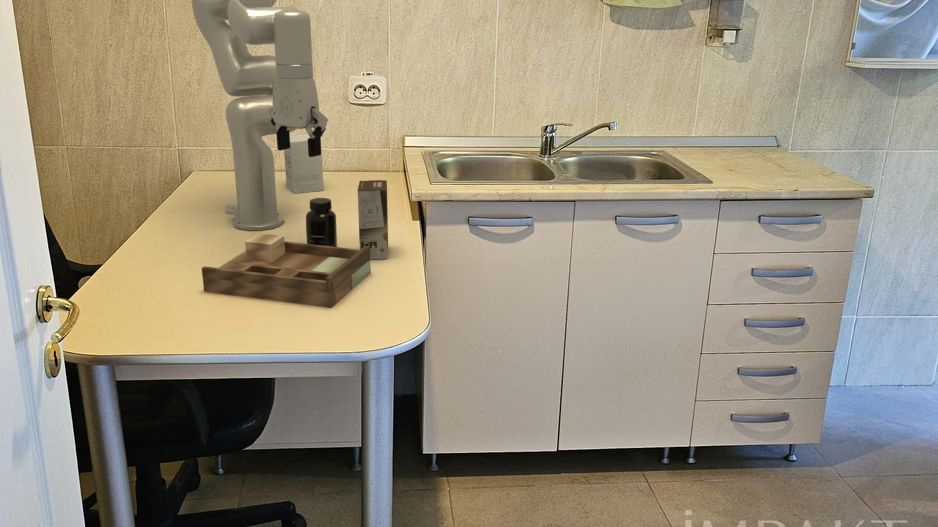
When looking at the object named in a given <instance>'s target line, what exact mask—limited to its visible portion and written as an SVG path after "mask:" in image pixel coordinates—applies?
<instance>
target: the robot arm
mask: <svg viewBox="0 0 938 527" xmlns="http://www.w3.org/2000/svg"><path fill="white" fill-rule="evenodd" d="M277 1H278V0H191V8H192V13H193V17H194V20H195V23H196V25H197V27H198V30H199V31H200V33H201V34H202V36H203V38H204V40H205V41H206V43H207V44H208V46H209V48H210V50H211V53H212V57H213V60H214V63H215V67H216V70H217V74H218V77H219V80H220V83H221V86H222V87H223V90H224V91H225V92H226V94H227V95H229V96H231V97H237V98H234V99H232V100H231V101H230V102H229V103H228V104H227V105H226V106H225V121H226V124H227V127H228V131H229V136H230V142H231V148H232V154H233V155H232V158H233V166H234V167H233V168H234V179H235V190H236V191H235V192H236V201H237V205H236V204H229V203H228V204H226V205H225V210H224V213H225V214H227V215H233V216H234V217H233V219H232V226H233V227H234V228H237V229H239V230H242V231H243V230H244V231H264V230H269V229H275V228H278V227H280V226H282V225H283V224H284V223H285V217H284V216H283V215H282V214H280V213H278V203H277V202H278V201H277V190H276V189H277V188H276V175H275V162H274V161H275V160H274V158H275V157H274V154H273V150H272V149H271V147H270V146H269V145H268V144H267V142H265V141H264V140H263V137H265V136H270V135H276V145H277V146H276V147H277V148H276V149H277V151H284V150H285V149H289V148H290V136H291V134H290V133H293V132H294V131H296V130H304V129H305V131H306V133H307V134H308V135H309V137H310V138H308V155H309V157H315V156H319V155H322V141H321V140H322V137H323V135H324V132H325V131H326V129H327V125H328V122H329V119H328V118H327V117H326V116H325V115H324V113H322V112H321V111H320V105H319V104H320V103H319V98H318V97H319V96H318V91H317V84H316V82H315V79H314V67H313V64H314V63H313V48H312V47H313V46H312V45H313V44H312V26H311V24H312V23H311V16H310V14H309V13H308V12H307V11H305V10H300V9H298V8H296V7H293V6H292V7H291V6H274V5H275V3H276V2H277ZM226 21H228V23H227V22H226ZM272 44H273V45H274V55H270V54H269V55H252V54H251V53H250V52H249V49H248V45H249V46H250V45H251V46H257V45H258V46H260V45H261V46H262V45H272Z"/></svg>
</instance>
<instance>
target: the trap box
mask: <svg viewBox="0 0 938 527" xmlns="http://www.w3.org/2000/svg"><path fill="white" fill-rule="evenodd" d="M284 242H285V254H284V255H282V256H281V257H279V258H278V259H276V260H275V261H273V262H263V261H255V260H246V250H245V251H243V252H241V253H240V254H238V255H236V256H235V257H234V258H232V259H230V260H228V261H227V262H225V263H224V264H222V265H220V266H218V267H214V266H202V267H201V275H202V284H203V292H208V293H216V294H223V295H230V296H231V295H232V296H237V297H238V296H239V297H246V298H253V299H254V298H255V299H264V300H270V301H279V302H286V303H295V304H300V305H301V304H302V305H307V306H308V305H309V306H310V305H311V306H317V307H323V308H324V307H326V308H333V307H334V306H335V305H336V304H337V303H338V302H339V301H341V299H343V298H344V297H345V296H346V295H348V294H349V293H350V292H351V291H352V290H353V289H354V288H355V287H357V285H359V284H360V283H361V282H362V281H363V280H364V279H365V278H367V277H368V276H369V275H370V274H371V273H372V269H371V267H372V266H371V264H372V263H371V262H372V261H371V259H370V246H365V247H363V248H362V249H361V250H360V248H359V249H357V248H350V247H341V246H339V247H338V246H337V247H332V246H322V245H313V244H307V243H301V242H295V241H294V242H292V241H285V240H284ZM350 290H351V291H350ZM349 291H350V292H349Z"/></svg>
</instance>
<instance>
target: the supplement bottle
mask: <svg viewBox="0 0 938 527" xmlns="http://www.w3.org/2000/svg"><path fill="white" fill-rule="evenodd" d="M337 232H338V231H337V215H336V212H335V211H333V210H332V200H331V199H330V198H327V197H315V198H311V199H310V200H309V210H308V212H307V213H306V214H305V233H306V244H313V245H322V246H332V247H338V242H337V241H338V238H337Z"/></svg>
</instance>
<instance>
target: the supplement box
mask: <svg viewBox="0 0 938 527" xmlns="http://www.w3.org/2000/svg"><path fill="white" fill-rule="evenodd" d="M308 138H310V137H309V135H308V133H307V134H295V135H290V148H289V149H285V150H283V153H284V166H285V168H284V170H285V181H286V182H285V183H286V185H285V186H286V187H287V189H289V190H290V191H291V193H292V194H295V195H296V194H303V193H311V192H313V193H314V192H320V191H324V190H325V189H324V177H323V176H324V174H323V173H324V171H323V158H322V155H323V154H321V155H319V156H315V157H309V155H308Z"/></svg>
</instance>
